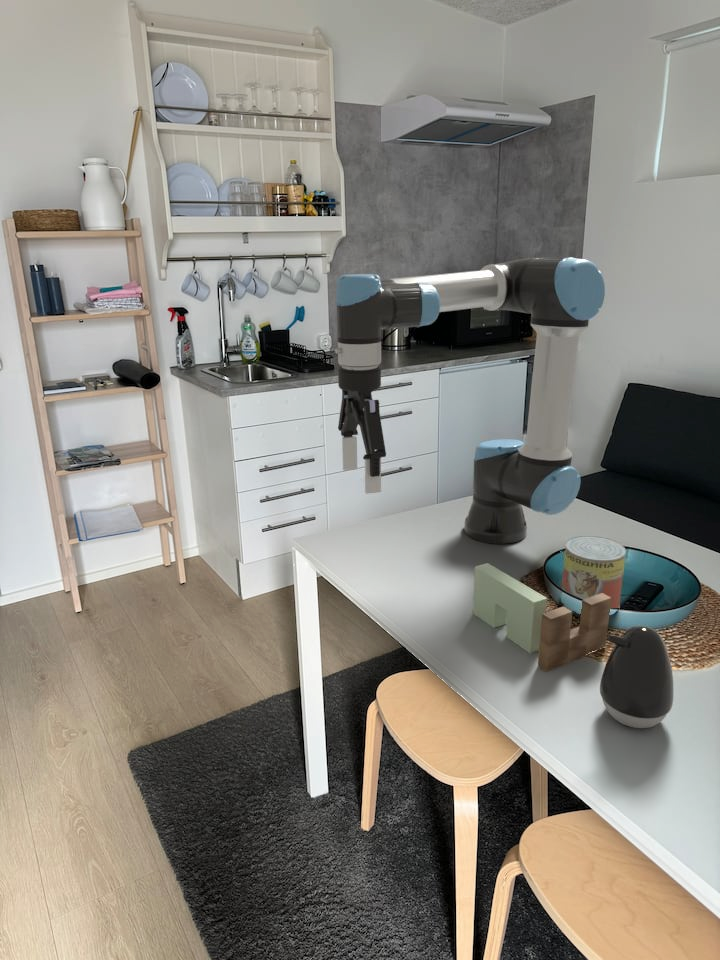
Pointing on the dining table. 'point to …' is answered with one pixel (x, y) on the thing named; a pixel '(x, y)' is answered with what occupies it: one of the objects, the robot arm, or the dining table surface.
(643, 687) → the pump dispenser
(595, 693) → the dining table surface
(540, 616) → the green arch bridge
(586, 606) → the brown u-shaped block
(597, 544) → the canned food
